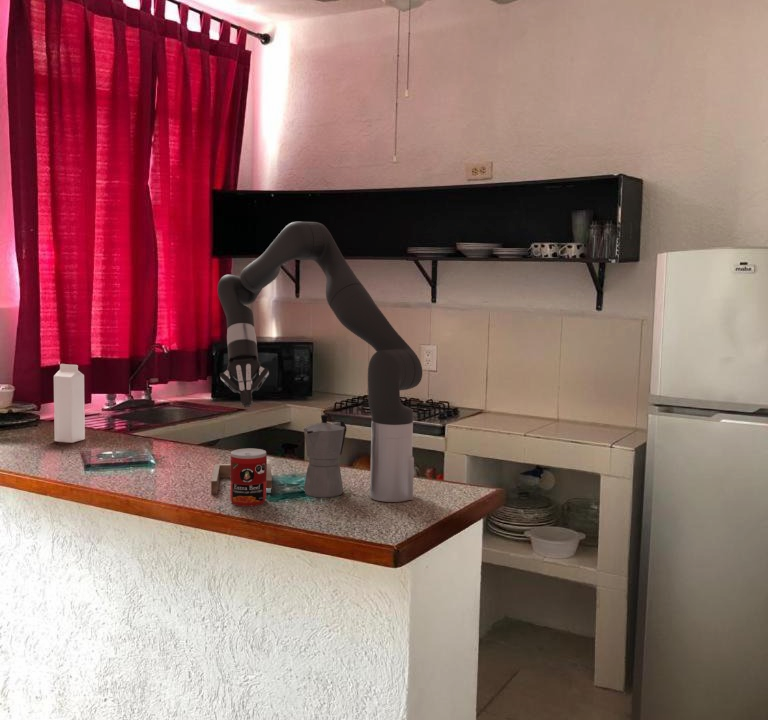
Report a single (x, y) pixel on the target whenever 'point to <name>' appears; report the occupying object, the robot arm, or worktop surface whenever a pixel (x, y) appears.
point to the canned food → (248, 476)
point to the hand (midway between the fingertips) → (247, 405)
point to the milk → (69, 404)
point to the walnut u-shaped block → (225, 471)
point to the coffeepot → (324, 458)
